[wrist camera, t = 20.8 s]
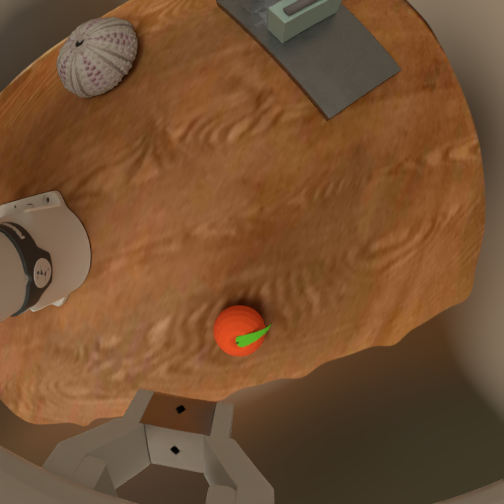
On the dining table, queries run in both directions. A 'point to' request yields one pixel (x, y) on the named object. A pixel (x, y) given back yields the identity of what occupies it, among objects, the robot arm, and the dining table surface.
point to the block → (271, 3)
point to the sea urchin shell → (97, 56)
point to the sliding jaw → (298, 16)
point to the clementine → (239, 330)
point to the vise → (321, 55)
